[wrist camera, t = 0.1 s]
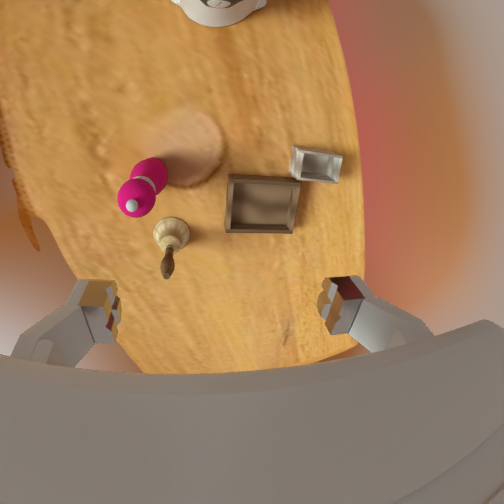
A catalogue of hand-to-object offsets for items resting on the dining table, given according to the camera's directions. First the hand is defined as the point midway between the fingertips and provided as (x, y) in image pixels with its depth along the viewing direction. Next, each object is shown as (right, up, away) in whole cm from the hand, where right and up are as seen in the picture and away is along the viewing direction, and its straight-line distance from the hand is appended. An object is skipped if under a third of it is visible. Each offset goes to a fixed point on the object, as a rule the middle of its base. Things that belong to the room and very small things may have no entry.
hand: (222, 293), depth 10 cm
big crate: (+3, +12, +50) cm, 51 cm away
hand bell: (-17, +6, +50) cm, 53 cm away
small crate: (+14, +21, +47) cm, 53 cm away
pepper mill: (-19, +18, +42) cm, 50 cm away
